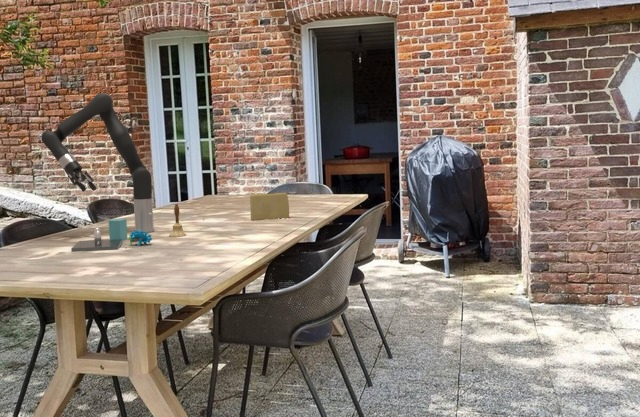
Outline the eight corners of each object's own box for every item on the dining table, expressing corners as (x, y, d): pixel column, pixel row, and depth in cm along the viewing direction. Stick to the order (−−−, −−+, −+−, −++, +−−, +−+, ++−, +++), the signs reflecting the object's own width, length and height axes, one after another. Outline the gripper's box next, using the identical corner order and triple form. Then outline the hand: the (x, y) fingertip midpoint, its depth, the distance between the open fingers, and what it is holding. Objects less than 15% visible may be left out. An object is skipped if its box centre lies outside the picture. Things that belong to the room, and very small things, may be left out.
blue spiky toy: (156, 240, 329) (146, 227, 322) (153, 250, 326) (143, 238, 318) (134, 242, 332) (124, 230, 325) (132, 253, 328) (121, 240, 321)
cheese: (289, 217, 411) (288, 191, 409) (289, 219, 401) (288, 193, 400) (251, 218, 410) (250, 192, 408) (250, 220, 400) (249, 194, 398)
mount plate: (123, 242, 335) (122, 223, 334) (117, 249, 316) (116, 229, 315) (79, 244, 332) (78, 225, 331) (71, 251, 313) (70, 231, 312)
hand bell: (189, 235, 352) (188, 203, 350) (175, 237, 346) (174, 205, 344) (179, 233, 358) (178, 202, 356) (166, 235, 352) (164, 204, 350)
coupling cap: (116, 238, 345) (115, 218, 344) (127, 239, 344) (126, 218, 343) (109, 240, 340) (108, 220, 339) (120, 241, 338) (119, 220, 337)
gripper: (66, 160, 337) (86, 185, 335) (83, 159, 351) (103, 184, 349) (56, 170, 339) (76, 195, 337) (73, 169, 353) (93, 194, 351)
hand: (89, 189), depth 343 cm, fingers open, 8 cm apart
